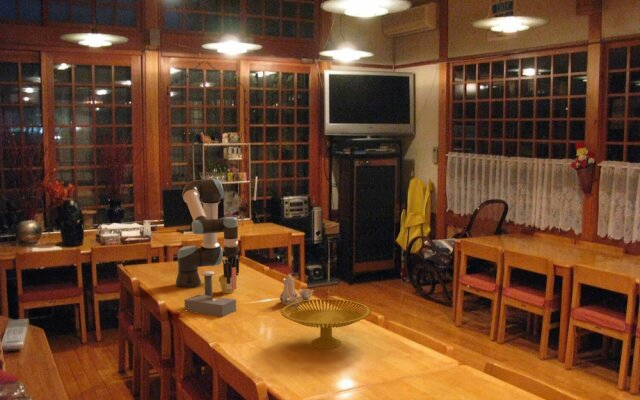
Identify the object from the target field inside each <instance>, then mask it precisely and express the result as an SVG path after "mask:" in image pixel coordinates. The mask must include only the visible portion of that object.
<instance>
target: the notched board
mask: <svg viewBox="0 0 640 400" xmlns="http://www.w3.org/2000/svg"><path fill="white" fill-rule="evenodd" d="M213 299H214V297H213V295H212V296H206V295H205V294H196V295H194V296H192V297H191V296H190V297H188V298H185V299H184V311H185V310H187V311H186V312H188V311H191V312H190V313H194V312H196V313H195V314H201V315H206V316H207V315H208V316H215V317H219V318H221V317H225V316H229V315H230V314H232V313H235V312H236V311H237V300H236V299H235V298H228V297H227V298H226V297H220V298H216V300H214V301H213Z"/></svg>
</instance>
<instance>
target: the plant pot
mask: <svg viewBox="0 0 640 400" xmlns="http://www.w3.org/2000/svg"><path fill="white" fill-rule="evenodd" d="M237 280H238V276H237V275H236V282H237ZM218 282H219V284H220V289H221V292H222V294H227V295H228V294H232V293H234V292H235V290H227V278H226V277H224V273H223V274H220V275H219V276H218Z"/></svg>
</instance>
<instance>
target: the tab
mask: <svg viewBox="0 0 640 400" xmlns="http://www.w3.org/2000/svg"><path fill="white" fill-rule="evenodd" d="M231 277H232V289H227V290H234V291H235V290H237V281H236V267H232V268H231Z"/></svg>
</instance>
